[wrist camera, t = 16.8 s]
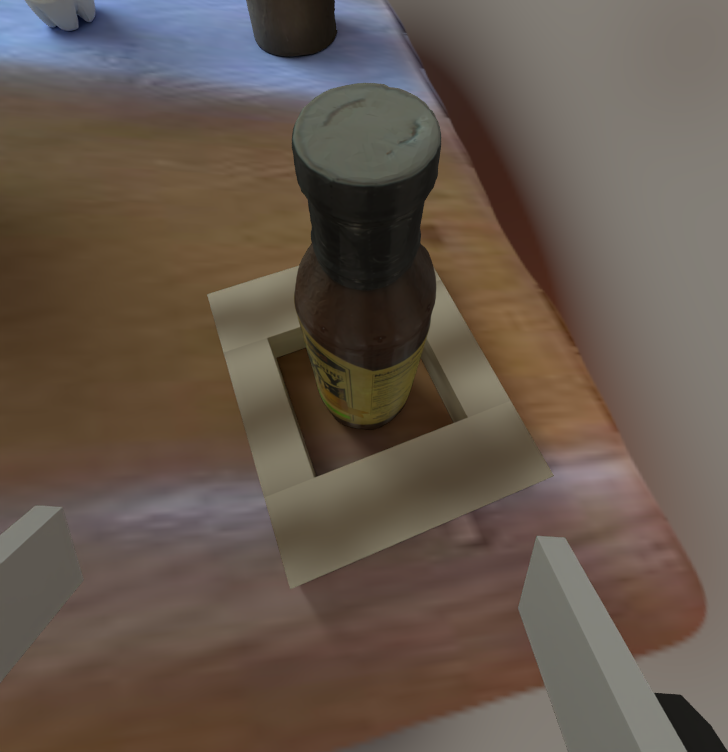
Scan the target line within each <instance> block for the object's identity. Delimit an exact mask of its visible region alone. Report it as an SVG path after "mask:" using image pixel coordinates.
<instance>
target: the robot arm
mask: <svg viewBox="0 0 728 752" xmlns="http://www.w3.org/2000/svg"><path fill="white" fill-rule="evenodd" d="M83 581H84V579H83V576H82V572H81V569H80V565H79V562H78V558H77V555H76V552H75V548H74V545H73V541H72V538H71V534H70V531H69V528H68V524H67V521H66V517H65V514H64V510H63V507H54V506H37V505H36V506H34V507H33V508H32V509H31V510H30V511H28V512H27V513H26V514H25V515H24V516H22V517H21V518H20V519H19V520H18V521H16V522H15V523H14V524H13V525H12V526H10V527H9V528H8V529H7V530H6V531H5V532H3V533H2V534H1V535H0V683H1V681H2V680H3V679H4V678H5V676H6V675H7V674H8V673H9V672H10V670H11V669H12V668H13V667H14V665H15V664H16V663H17V662H18V660H19V659H20V658H21V657H22V656H23V654H24V653H25V652H26V651H27V649H28V648H29V647H30V646H31V645H32V643H33V642H34V641H35V640H36V638H37V637H38V636H39V635H40V633H41V632H42V631H43V630H44V629H45V627H46V626H47V625H48V624H49V622H50V621H51V620H52V619H53V618H54V616H55V615H56V614H57V613H58V611H59V610H60V609H61V608H62V606H63V605H64V604H65V603H66V602H67V600H68V599H69V598H70V597H71V595H72V594H73V593H74V592H75V591H76V589H77V588H78V587H79V586H80V584H81V583H82V582H83ZM518 610H519V612H520V615H521V618H522V621H523V624H524V627H525V630H526V632H527V635H528V638H529V641H530V644H531V647H532V650H533V653H534V655H535V658H536V661H537V664H538V667H539V670H540V673H541V676H542V678H543V681H544V684H545V687H546V690H547V692H548V696H549V698H550V701H551V704H552V707H553V710H554V713H555V715H556V719H557V721H558V724H559V727H560V730H561V733H562V735H563V739H564V741H565V744H566V747H567V750H568V752H728V751H727V750H726V748H725V747H724V745H723V743H722V742H721V740H720V739H719V737H718V736H717V734H716V733H715V731H714V730H713V728H712V726H711V725H710V724H709V723H708V722H707V721H706V720H705V719H704V718H703V717H702V716H701V715H700V714H699V713H698V712H697V711H696V710H695V709H694V708H693V707H692V706H691V705H690V704H689V703H688V702H687V701H686V700H685V699H684V697H683V696H681V695H676V694H662V693H653V691H652V689H651V687H650V686H649V684H648V682H647V680H646V679H645V677H644V675H643V673H642V672H641V670H640V668H639V667H638V665H637V663H636V661H635V659H634V658H633V656H632V654H631V652H630V651H629V649H628V647H627V645H626V644H625V642H624V640H623V638H622V637H621V635H620V633H619V631H618V630H617V628H616V626H615V624H614V623H613V621H612V619H611V617H610V616H609V614H608V612H607V610H606V609H605V607H604V605H603V603H602V602H601V600H600V598H599V596H598V595H597V593H596V591H595V589H594V588H593V586H592V584H591V582H590V581H589V579H588V577H587V575H586V574H585V572H584V570H583V568H582V567H581V565H580V563H579V561H578V560H577V558H576V556H575V554H574V553H573V551H572V549H571V547H570V546H569V544H568V542H567V540H566V539H565V537H548V536H536V540H535V544H534V548H533V552H532V556H531V559H530V563H529V567H528V571H527V575H526V579H525V583H524V587H523V591H522V595H521V599H520V603H519V607H518Z"/></svg>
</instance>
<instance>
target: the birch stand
mask: <svg viewBox="0 0 728 752" xmlns="http://www.w3.org/2000/svg"><path fill="white" fill-rule="evenodd" d="M298 268H299V266H297V267H293V268H290V269H287V270H284V271H281V272H277V273H274V274H271V275H268V276H265V277H261V278H258V279H255V280H252V281H249V282H245V283H242V284H239V285H236V286H233V287H229V288H226V289H223V290H220V291H217V292H213V293H210V294H207V296H208V299H209V303H210V306H211V310H212V313H213V317H214V321H215V324H216V328H217V331H218V335H219V338H220V342H221V345H222V349H223V353H224V356H225V360H226V363H227V367H228V370H229V374H230V377H231V381H232V384H233V388H234V392H235V395H236V399H237V402H238V406H239V409H240V413H241V416H242V420H243V424H244V427H245V431H246V434H247V438H248V441H249V445H250V448H251V452H252V456H253V459H254V463H255V466H256V470H257V473H258V477H259V480H260V484H261V487H262V491H263V495H264V498H265V502H266V505H267V509H268V512H269V516H270V519H271V523H272V527H273V530H274V534H275V537H276V541H277V544H278V548H279V551H280V555H281V559H282V562H283V566H284V569H285V573H286V576H287V580H288V583H289V587H290V589H292V588H295V587H297V586H299V585H302V584H304V583H306V582H309V581H311V580H313V579H316V578H318V577H320V576H322V575H325V574H327V573H329V572H332V571H334V570H336V569H339V568H341V567H343V566H346V565H348V564H350V563H353V562H355V561H357V560H360V559H362V558H364V557H367V556H369V555H371V554H374V553H376V552H378V551H381V550H383V549H385V548H388V547H390V546H392V545H395V544H397V543H399V542H402V541H404V540H406V539H409V538H411V537H413V536H415V535H418V534H420V533H422V532H425V531H427V530H429V529H432V528H434V527H436V526H439V525H441V524H443V523H446V522H448V521H450V520H453V519H455V518H457V517H460V516H462V515H464V514H467V513H469V512H471V511H474V510H476V509H478V508H481V507H483V506H485V505H488V504H490V503H492V502H495V501H497V500H499V499H502V498H504V497H506V496H508V495H511V494H513V493H515V492H518V491H520V490H522V489H525V488H527V487H529V486H532V485H534V484H536V483H539V482H541V481H543V480H546V479H548V478H550V477H553V476H554V475H553V473H552V472H551V470H550V468H549V467H548V465H547V463H546V461H545V460H544V458H543V456H542V454H541V453H540V451H539V449H538V447H537V446H536V444H535V442H534V440H533V439H532V437H531V435H530V434H529V432H528V430H527V428H526V427H525V425H524V423H523V421H522V420H521V418H520V416H519V414H518V413H517V411H516V409H515V408H514V406H513V404H512V402H511V401H510V399H509V397H508V395H507V394H506V392H505V390H504V388H503V387H502V385H501V383H500V381H499V380H498V378H497V376H496V375H495V373H494V371H493V369H492V368H491V366H490V364H489V362H488V361H487V359H486V357H485V355H484V354H483V352H482V350H481V349H480V347H479V345H478V343H477V342H476V340H475V338H474V336H473V335H472V333H471V331H470V329H469V328H468V326H467V324H466V322H465V321H464V319H463V317H462V316H461V314H460V312H459V310H458V309H457V307H456V305H455V303H454V302H453V300H452V298H451V296H450V295H449V293H448V291H447V290H446V288H445V286H444V284H443V283H442V281H441V279H440V277H439V276H438V274H437V272H436V270H435V269H434V271H435V276H436V300H435V305H434V308H433V311H432V314H431V323H430V329H429V332H428V335H427V338H426V341H425V345H424V348H423V351H422V355H421V359H422V361H423V363H424V365H425V367H426V369H427V371H428V373H429V375H430V377H431V379H432V381H433V383H434V385H435V387H436V389H437V391H438V393H439V395H440V397H441V399H442V401H443V403H444V405H445V407H446V409H447V411H448V413H449V415H450V417H451V419H452V421H453V424H450V425H448V426H445V427H442V428H440V429H437V430H435V431H432V432H430V433H427V434H425V435H422V436H420V437H417V438H414V439H412V440H409V441H407V442H404V443H402V444H399V445H397V446H394V447H392V448H389V449H386V450H384V451H381V452H379V453H376V454H374V455H371V456H369V457H366V458H363V459H361V460H358V461H356V462H353V463H351V464H348V465H346V466H343V467H341V468H338V469H335V470H333V471H330V472H328V473H325V474H323V475H320V476H318V477H316V474H315V471H314V468H313V465H312V462H311V459H310V456H309V453H308V450H307V447H306V444H305V441H304V438H303V435H302V433H301V430H300V427H299V424H298V421H297V418H296V415H295V412H294V409H293V406H292V403H291V400H290V397H289V394H288V391H287V388H286V385H285V382H284V379H283V377H282V374H281V371H280V368H279V365H278V362H277V359H276V358H277V357H280V356H283V355H286V354H289V353H292V352H295V351H297V350H300V349H303V348H306V346H305V342H304V337H303V334H302V331H301V328H300V324H299V320H298V316H297V313H296V310H295V305H294V292H295V284H296V277H297V273H298Z"/></svg>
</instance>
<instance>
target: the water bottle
mask: <svg viewBox="0 0 728 752" xmlns="http://www.w3.org/2000/svg"><path fill="white" fill-rule="evenodd" d="M25 1H26V3H27V4H28V6H29V7H30V8H31V9H32V11H33V12H34V13H35V14H36V15H37V16H38V17H39V18H40V19H41V20H42V21H43V22H44V23H45V24H46V25H48V26H49V27H56V26H58V27H59V28H60V29H62V30H66V31H73V30H76V29H77V28H79V26H78V19H77V15H79V16H80V17H82V18H83V19H84V20H85V21H87V22H91V21H93V19H94V17H95V4H94V0H25Z"/></svg>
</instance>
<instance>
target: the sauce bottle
mask: <svg viewBox="0 0 728 752" xmlns="http://www.w3.org/2000/svg"><path fill="white" fill-rule="evenodd" d="M292 150H293V155H294V165H295V171H296V176H297V180H298V184H299V186H300V188H301V191H302V193H303V194H304V195H305V196H306V198H307V199H308V205H309V212H310V219H311V224H312V230H311V240H312V244H311V245H310V247H309V248H308V249H307V251H306V253H305V255H304V256H303V258H302V260H301V263H300V264H299V268H298V273H297V277H296V284H295V292H294V305H295V310H296V313H297V316H298V320H299V324H300V328H301V331H302V334H303V337H304V342H305V346H306V349H307V352H308V356H309V358H310V362H311V365H312V369H313V372H314V376H315V379H316V383H317V387H318V391H319V393H320V396H321V399H322V400H323V402H324V404H325V405H326V407H327V408H328V409H329V411H330V412H331V414H332V415H333V416H334V417H335V419H336V420H337V421H339V422H340V423H342V424H344V425H347V426H350V427H353V428H359V429H375V428H379V427H381V426H382V425H384V424H386V423H388V422H389V421H391V420H392V419H393V418H394V417H395V416H396V415H397V414H398V413H399V412H400V411H401V410H402V408H403V407H404V404H405V402H406V400H407V398H408V396H409V393H410V390H411V387H412V383H413V380H414V377H415V374H416V371H417V368H418V364H419V361H420V358H421V355H422V351H423V348H424V345H425V341H426V338H427V335H428V332H429V329H430V323H431V314H432V311H433V308H434V305H435V300H436V276H435V271H434V267H433V264H432V261H431V258H430V255H429V253H428V251H427V250H426V248H425V247H423V246H422V245H421V244H420V239H421V232H420V224H421V219H422V213H423V207H424V201H425V200H426V198H427V196H428V195H429V193H430V191H431V190H432V189H433V187H434V184H435V181H436V179H437V176H438V164H439V158H440V150H441V132H440V126H439V123H438V121H437V119H436V118H435V115H434V113H433V111H432V110H430V109H429V107H428V106H427V105H426V103H425V102H423V101H422V100H421V99H419V98H418V97H417V96H415V95H413V94H411V93H409V92H407V91H404V90H402V89H399V88H391V87H388V86H386V85H385V84H377V83H358V84H351V85H346V86H341V87H337V88H333V89H330V90H328V91H326V92H323V93H322V94H320V95H319V96H317V97H316V98H314V99H313V100H312V101H311V102H310V103H309V104H308V105H306V106H305V107H304V108H303V109H302V111H301V113H300V115H299V117H298V119H297V121H296V123H295V126H294V128H293V134H292Z"/></svg>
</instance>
